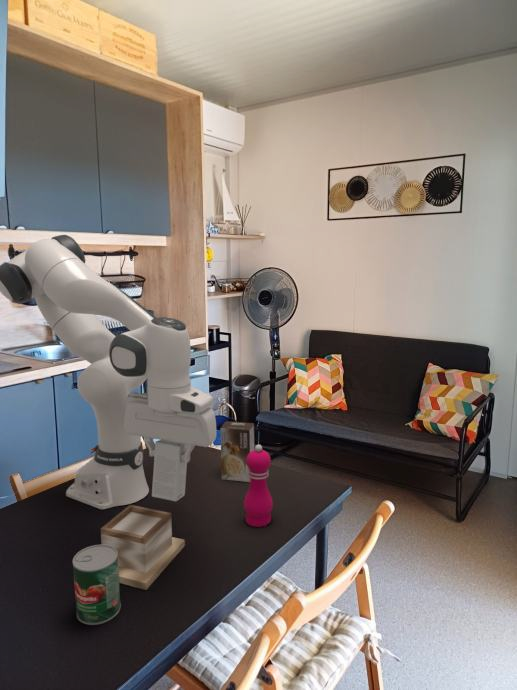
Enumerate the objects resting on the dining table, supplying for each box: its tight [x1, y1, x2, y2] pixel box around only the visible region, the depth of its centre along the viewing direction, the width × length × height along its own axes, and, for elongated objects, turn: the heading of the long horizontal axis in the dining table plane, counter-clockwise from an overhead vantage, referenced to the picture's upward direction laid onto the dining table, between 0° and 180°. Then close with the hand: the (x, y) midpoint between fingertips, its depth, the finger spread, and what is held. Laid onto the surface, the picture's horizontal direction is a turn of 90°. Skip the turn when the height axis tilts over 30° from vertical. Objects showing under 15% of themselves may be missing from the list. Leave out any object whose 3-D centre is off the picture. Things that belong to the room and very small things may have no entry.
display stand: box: [100, 504, 186, 591], centre depth 107 cm, size 14×16×9 cm
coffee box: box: [219, 420, 255, 483], centre depth 146 cm, size 9×6×16 cm
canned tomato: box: [72, 544, 122, 626], centre depth 92 cm, size 8×8×11 cm
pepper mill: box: [243, 444, 274, 528], centre depth 122 cm, size 7×7×20 cm
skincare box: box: [151, 439, 188, 502], centre depth 106 cm, size 6×4×12 cm
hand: (169, 458), depth 105 cm, fingers closed on skincare box, 6 cm apart
